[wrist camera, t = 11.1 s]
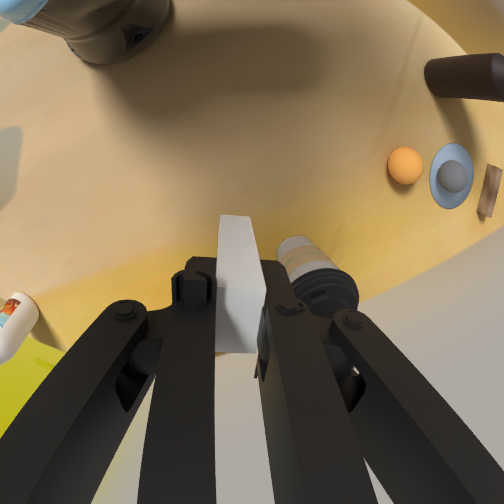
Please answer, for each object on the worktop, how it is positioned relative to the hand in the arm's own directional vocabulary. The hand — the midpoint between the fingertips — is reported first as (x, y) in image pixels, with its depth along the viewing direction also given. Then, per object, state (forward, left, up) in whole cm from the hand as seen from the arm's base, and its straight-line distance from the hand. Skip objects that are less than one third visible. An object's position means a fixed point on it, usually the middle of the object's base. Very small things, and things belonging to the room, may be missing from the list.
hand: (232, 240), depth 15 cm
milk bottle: (+28, -41, -25) cm, 55 cm away
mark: (-5, +38, -24) cm, 45 cm away
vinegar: (-21, +31, -25) cm, 45 cm away
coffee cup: (+12, +11, -25) cm, 30 cm away
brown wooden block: (-5, +49, -24) cm, 55 cm away
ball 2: (-5, +35, -22) cm, 42 cm away
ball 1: (-4, +25, -22) cm, 33 cm away
